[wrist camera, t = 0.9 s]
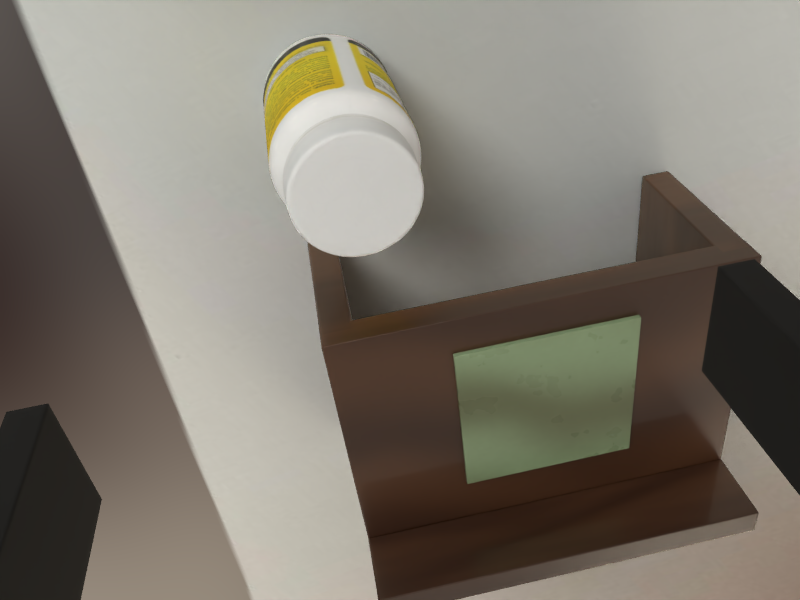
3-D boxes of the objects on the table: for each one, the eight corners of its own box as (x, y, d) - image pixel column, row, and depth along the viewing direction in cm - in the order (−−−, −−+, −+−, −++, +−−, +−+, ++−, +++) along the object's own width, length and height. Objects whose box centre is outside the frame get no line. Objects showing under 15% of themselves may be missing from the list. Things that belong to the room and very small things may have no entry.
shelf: (306, 241, 31) (329, 407, 23) (668, 170, 32) (815, 304, 24) (352, 436, 38) (382, 617, 30) (647, 373, 39) (754, 530, 31)
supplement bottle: (256, 146, 28) (260, 261, 21) (270, 20, 25) (280, 105, 19) (377, 162, 29) (417, 275, 22) (403, 43, 27) (456, 131, 20)
